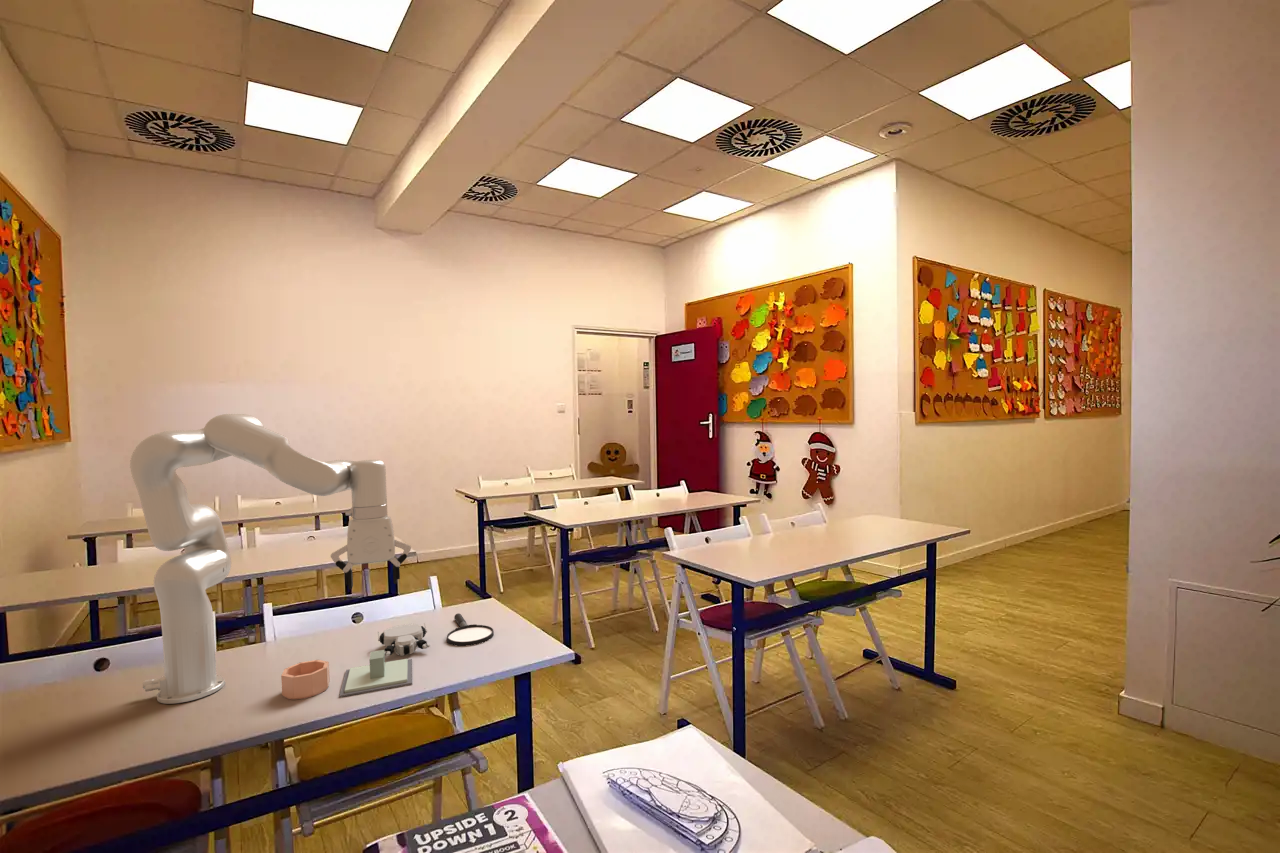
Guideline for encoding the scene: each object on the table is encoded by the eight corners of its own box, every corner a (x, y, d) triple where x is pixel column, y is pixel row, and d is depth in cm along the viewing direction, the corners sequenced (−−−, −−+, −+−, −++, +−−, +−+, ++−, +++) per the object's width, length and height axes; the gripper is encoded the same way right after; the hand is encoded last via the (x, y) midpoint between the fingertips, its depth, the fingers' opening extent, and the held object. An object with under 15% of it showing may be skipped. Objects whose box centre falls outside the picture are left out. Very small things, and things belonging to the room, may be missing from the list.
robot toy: (432, 657, 158) (425, 634, 171) (432, 640, 158) (424, 619, 171) (381, 667, 153) (377, 643, 166) (380, 649, 152) (377, 627, 166)
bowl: (279, 702, 133) (278, 680, 133) (287, 685, 141) (286, 664, 141) (326, 694, 136) (325, 672, 136) (331, 678, 144) (330, 657, 144)
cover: (344, 692, 136) (343, 670, 135) (350, 670, 148) (349, 649, 148) (407, 681, 140) (406, 659, 140) (407, 660, 152) (406, 640, 152)
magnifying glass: (478, 616, 187) (478, 609, 187) (498, 642, 166) (498, 634, 166) (436, 624, 181) (436, 617, 181) (451, 652, 160) (451, 644, 160)
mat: (339, 697, 134) (339, 695, 134) (346, 671, 148) (346, 669, 148) (412, 684, 140) (412, 682, 140) (412, 660, 154) (412, 658, 154)
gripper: (326, 518, 137) (330, 594, 137) (409, 511, 143) (412, 584, 143) (331, 513, 144) (334, 586, 144) (409, 507, 150) (412, 576, 150)
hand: (373, 585), depth 143 cm, fingers open, 9 cm apart
